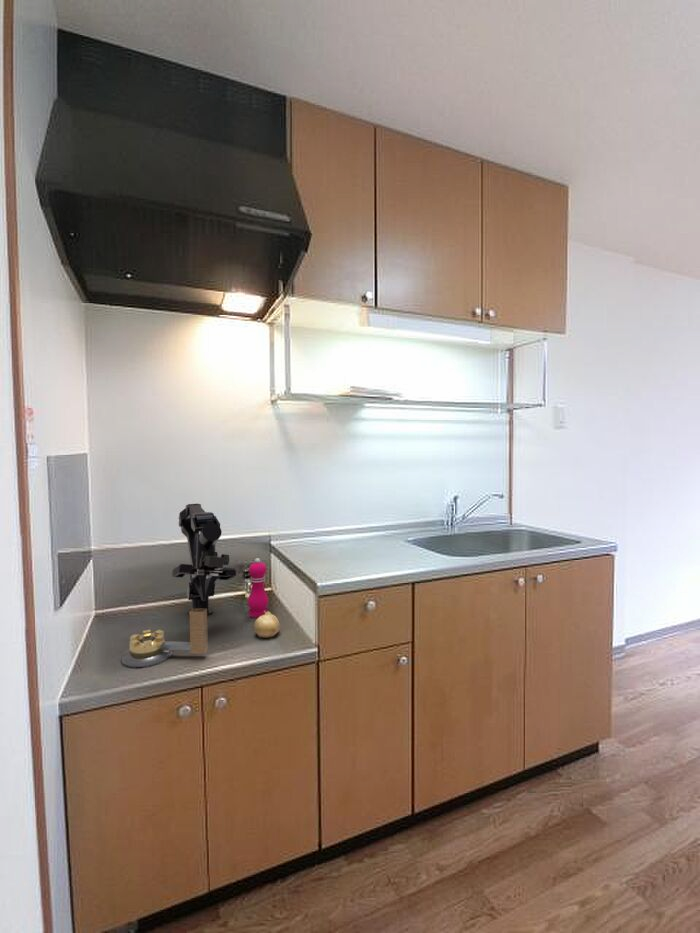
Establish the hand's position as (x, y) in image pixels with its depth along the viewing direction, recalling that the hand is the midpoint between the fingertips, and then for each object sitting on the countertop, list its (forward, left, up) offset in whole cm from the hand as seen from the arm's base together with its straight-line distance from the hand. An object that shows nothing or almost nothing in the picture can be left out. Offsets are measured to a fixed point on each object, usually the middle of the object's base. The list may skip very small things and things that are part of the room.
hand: (204, 600), depth 134 cm
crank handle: (+3, -12, -11) cm, 16 cm away
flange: (-1, -16, -12) cm, 21 cm away
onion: (+9, +16, -13) cm, 22 cm away
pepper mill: (-7, +22, -13) cm, 26 cm away
